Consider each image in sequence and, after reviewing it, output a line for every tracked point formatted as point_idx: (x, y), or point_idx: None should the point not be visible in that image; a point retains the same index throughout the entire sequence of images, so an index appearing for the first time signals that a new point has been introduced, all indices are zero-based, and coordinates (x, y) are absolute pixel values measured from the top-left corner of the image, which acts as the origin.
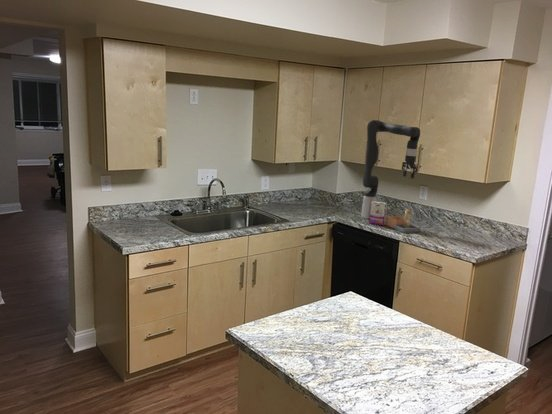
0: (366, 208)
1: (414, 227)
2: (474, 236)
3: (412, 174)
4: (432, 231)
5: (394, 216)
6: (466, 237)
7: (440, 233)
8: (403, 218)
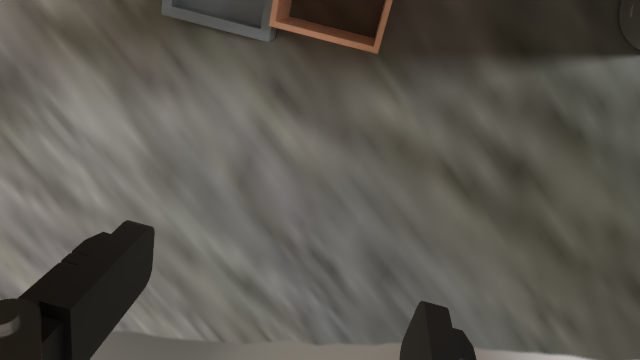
0: None
1: (206, 14)
2: (30, 227)
3: (49, 283)
4: (163, 113)
5: (389, 6)
6: (20, 173)
7: (114, 116)
8: (312, 30)
